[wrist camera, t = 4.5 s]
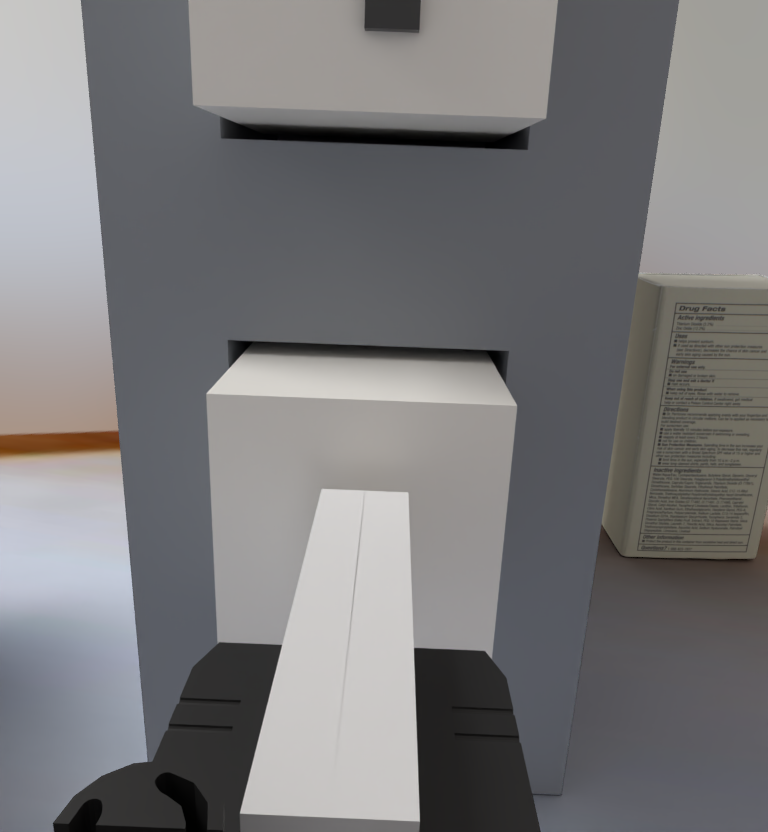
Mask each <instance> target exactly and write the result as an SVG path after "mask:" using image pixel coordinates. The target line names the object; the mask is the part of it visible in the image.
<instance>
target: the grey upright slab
mask: <svg viewBox="0 0 768 832" xmlns="http://www.w3.org/2000/svg"><path fill="white" fill-rule="evenodd" d="M678 4H679V0H558V5H557V15H556V25H555V35H554V45H553V55H552V65H551V75H550V85H549V95H548V105H547V115H546V119H544V120H542V121H539V122H537V123H535V124H533V125H531V126H528V127H526V128H524V129H522V130H520V131H517V132H515V133H513V134H511V135H508V136H506V137H504V138H502V139H500V140H497V141H495V142H469V141H442V140H416V139H389V138H363V137H337V136H310V135H284V134H263V133H260V132H258V131H255V130H253V129H250V128H248V127H245V126H243V125H240V124H238V123H236V122H233V121H231V120H228V119H226V118H223V117H221V116H218V115H216V114H213V113H211V112H209V111H206V110H204V109H201V108H199V107H196V106H194V105H193V93H192V71H191V49H190V27H189V5H188V0H81V6H82V17H83V29H84V40H85V51H86V63H87V74H88V85H89V97H90V108H91V120H92V132H93V143H94V154H95V166H96V177H97V189H98V200H99V211H100V223H101V234H102V245H103V257H104V268H105V279H106V291H107V302H108V313H109V324H110V337H111V348H112V358H113V370H114V381H115V393H116V404H117V416H118V428H119V439H120V450H121V462H122V473H123V484H124V496H125V507H126V519H127V530H128V541H129V553H130V564H131V576H132V587H133V598H134V610H135V621H136V632H137V644H138V655H139V667H140V678H141V689H142V701H143V712H144V724H145V735H146V746H147V758H148V762H152V761H153V759H154V757H155V754H156V752H157V750H158V747H159V745H160V743H161V740H162V738H163V736H164V733H165V731H167V730H168V726H169V721H170V719H171V717H172V714H173V712H174V710H175V707H176V705H177V704H179V701H180V696H181V693H182V691H183V689H184V686H185V684H186V682H187V679H188V677H189V675H190V672H191V670H192V668H193V666H194V665H195V664H197V663H198V662H199V661H200V660H201V659H202V658H203V657H204V656H205V655H206V654H207V653H208V652H209V651H210V650H211V649H212V648H214V647H215V646H216V645H217V644H218V642H217V620H216V598H215V576H214V554H213V532H212V510H211V488H210V466H209V444H208V422H207V400H206V393H207V392H208V391H209V390H210V389H211V388H212V387H213V386H214V385H215V384H216V382H217V381H218V380H219V379H220V378H221V377H222V376H223V375H224V374H225V373H226V371H227V370H228V369H229V368H230V367H231V366H232V365H233V364H234V363H235V362H236V360H237V359H238V358H239V357H240V356H241V355H242V354H243V353H244V352H245V351H246V349H247V348H248V347H249V346H250V345H251V344H252V343H253V342H254V341H265V342H291V343H317V344H344V345H370V346H396V347H422V348H448V349H474V350H486V351H487V353H488V355H489V356H490V358H491V360H492V362H493V364H494V365H495V367H496V369H497V371H498V372H499V374H500V376H501V378H502V379H503V381H504V383H505V385H506V387H507V388H508V390H509V392H510V394H511V395H512V397H513V399H514V401H515V403H516V404H517V414H516V424H515V434H514V444H513V453H512V463H511V473H510V483H509V493H508V503H507V513H506V523H505V533H504V543H503V553H502V563H501V573H500V583H499V593H498V603H497V613H496V623H495V633H494V643H493V653H492V660H493V662H494V663H495V664H496V665H497V667H498V668H499V669H500V670H501V672H502V673H503V674H504V675H505V677H506V678H507V683H508V687H509V692H510V696H511V701H512V705H513V715H515V719H516V723H517V728H518V732H519V742H520V743H521V746H522V750H523V755H524V759H525V764H526V768H527V773H528V777H529V782H530V786H531V791H532V794H552V795H561V794H562V787H563V781H564V774H565V767H566V760H567V754H568V747H569V740H570V733H571V727H572V720H573V713H574V706H575V700H576V693H577V686H578V679H579V673H580V666H581V659H582V652H583V646H584V639H585V632H586V625H587V619H588V612H589V605H590V598H591V592H592V585H593V578H594V571H595V565H596V558H597V551H598V544H599V538H600V531H601V524H602V517H603V511H604V504H605V497H606V490H607V484H608V477H609V470H610V463H611V456H612V450H613V443H614V436H615V429H616V423H617V416H618V409H619V402H620V396H621V389H622V382H623V375H624V369H625V362H626V355H627V348H628V342H629V335H630V328H631V321H632V315H633V308H634V301H635V294H636V288H637V281H638V274H639V267H640V260H641V254H642V247H643V240H644V234H645V227H646V220H647V213H648V206H649V200H650V193H651V186H652V179H653V173H654V166H655V159H656V153H657V146H658V139H659V132H660V126H661V119H662V111H663V105H664V99H665V91H666V84H667V78H668V71H669V65H670V58H671V51H672V45H673V37H674V31H675V24H676V17H677V11H678Z"/></svg>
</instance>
